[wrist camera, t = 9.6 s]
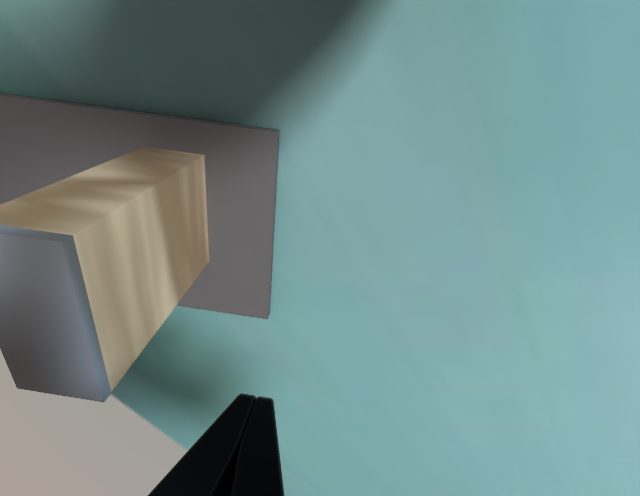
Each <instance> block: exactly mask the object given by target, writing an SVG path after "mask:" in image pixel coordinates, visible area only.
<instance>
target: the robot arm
mask: <svg viewBox="0 0 640 496" xmlns="http://www.w3.org/2000/svg"><path fill="white" fill-rule="evenodd" d="M148 496H284V489H283V480H282V472H281V463H280V454H279V445H278V437H277V428H276V419H275V410H274V402H273V399H272V398H266V397H257V398H256V397H255V396H254V395H248V394H240V395H238V396H237V397H236V398H235V400H234V401H233V402H232V403H231V404H230V405H229V406H228V407H227V408H226V410H225V411H224V412H223V413H222V414H221V415H220V416H219V417H218V418H217V420H216V421H215V422H214V423H213V424H212V425H211V426H210V427H209V428H208V429H207V431H206V432H205V433H204V434H203V435H202V436H201V437H200V438H199V439H198V441H197V442H196V443H195V444H194V445H193V446H192V447H191V448H190V449H189V451H188V452H187V453H186V454H185V455H184V456H183V457H182V458H181V459H180V461H179V462H178V463H177V464H176V465H175V466H174V467H173V468H172V470H171V471H170V472H169V473H168V474H167V475H166V476H165V477H164V478H163V479H162V480H161V482H160V483H159V484H158V485H157V486H156V487H155V488H154V489H153V490H152V492H151V493H150V494H149V495H148Z"/></svg>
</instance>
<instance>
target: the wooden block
mask: <svg viewBox="0 0 640 496" xmlns="http://www.w3.org/2000/svg"><path fill="white" fill-rule="evenodd" d="M208 262H209V246H208V224H207V202H206V180H205V158H204V155H202V154H194V153H187V152H179V151H172V150H164V149H157V148H149V147H142V148H140V149H137V150H135V151H132V152H130V153H127V154H125V155H122V156H120V157H118V158H115V159H113V160H110V161H108V162H105V163H103V164H100V165H98V166H95V167H93V168H90V169H88V170H85V171H83V172H80V173H78V174H75V175H73V176H71V177H68V178H66V179H63V180H61V181H58V182H56V183H53V184H51V185H48V186H46V187H43V188H41V189H38V190H36V191H33V192H31V193H29V194H26V195H24V196H21V197H19V198H16V199H14V200H11V201H9V202H6V203H4V204H1V205H0V348H1V351H2V353H3V356H4V358H5V360H6V363H7V365H8V368H9V370H10V372H11V374H12V377H13V379H14V382H15V384H16V387H17V388H19V389H25V390H32V391H38V392H44V393H50V394H56V395H62V396H69V397H75V398H81V399H87V400H94V401H100V402H105V400H106V399H107V398H108V396H109V395H110V394H111V392H112V391H113V390H114V388H115V387H116V386H117V384H118V383H119V382H120V380H121V379H122V378H123V376H124V375H125V374H126V372H127V371H128V369H129V368H130V367H131V365H132V364H133V363H134V361H135V360H136V359H137V357H138V356H139V355H140V353H141V352H142V351H143V349H144V348H145V347H146V345H147V344H148V343H149V341H150V340H151V339H152V337H153V336H154V335H155V333H156V332H157V331H158V329H159V328H160V327H161V325H162V324H163V323H164V321H165V320H166V319H167V317H168V316H169V315H170V313H171V312H172V311H173V309H174V308H175V307H176V305H177V304H178V303H179V301H180V300H181V299H182V297H183V296H184V294H185V293H186V292H187V290H188V289H189V288H190V286H191V285H192V284H193V282H194V281H195V280H196V278H197V277H198V276H199V274H200V273H201V272H202V270H203V269H204V268H205V266H206V265H207V264H208Z"/></svg>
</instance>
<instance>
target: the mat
mask: <svg viewBox="0 0 640 496" xmlns="http://www.w3.org/2000/svg"><path fill="white" fill-rule="evenodd" d="M279 131H280V130H276V129H268V128H261V127H253V126H246V125H238V124H231V123H223V122H215V121H208V120H200V119H193V118H185V117H177V116H170V115H162V114H155V113H147V112H140V111H132V110H124V109H117V108H109V107H102V106H94V105H86V104H79V103H71V102H64V101H56V100H49V99H41V98H33V97H26V96H18V95H11V94H3V93H0V205H1V204H4V203H6V202H9V201H11V200H14V199H16V198H19V197H21V196H24V195H26V194H29V193H31V192H33V191H36V190H38V189H41V188H43V187H46V186H48V185H51V184H53V183H56V182H58V181H61V180H63V179H66V178H68V177H71V176H73V175H75V174H78V173H80V172H83V171H85V170H88V169H90V168H93V167H95V166H98V165H100V164H103V163H105V162H108V161H110V160H113V159H115V158H118V157H120V156H122V155H125V154H127V153H130V152H132V151H135V150H137V149H140V148H142V147H149V148H157V149H164V150H172V151H179V152H187V153H194V154H202V155H204V158H205V180H206V202H207V224H208V246H209V262H208V264H207V265H206V266H205V268H204V269H203V270H202V272H201V273H200V274H199V276H198V277H197V278H196V280H195V281H194V282H193V284H192V285H191V286H190V288H189V289H188V290H187V292H186V293H185V294H184V296H183V297H182V299H181V300H180V301H179V303H178V304H177V306H184V307H190V308H197V309H203V310H210V311H217V312H223V313H230V314H237V315H243V316H250V317H256V318H263V319H268V317H269V314H270V299H271V281H272V262H273V243H274V224H275V206H276V187H277V168H278V149H279Z"/></svg>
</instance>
